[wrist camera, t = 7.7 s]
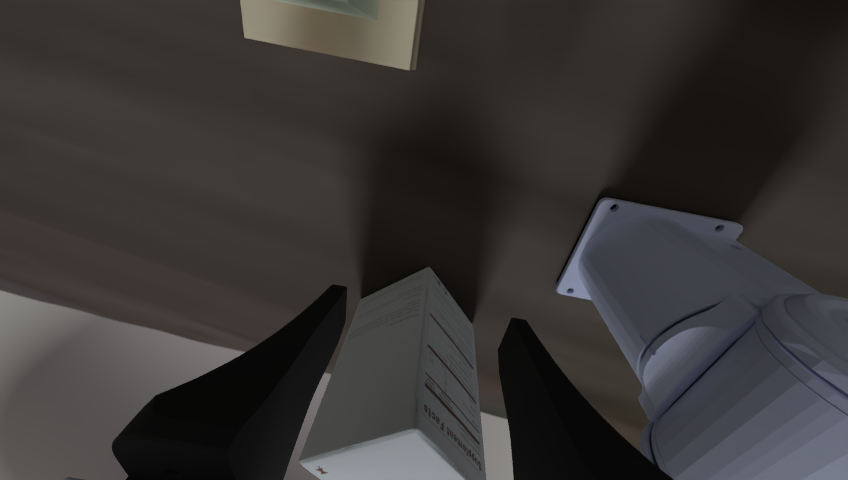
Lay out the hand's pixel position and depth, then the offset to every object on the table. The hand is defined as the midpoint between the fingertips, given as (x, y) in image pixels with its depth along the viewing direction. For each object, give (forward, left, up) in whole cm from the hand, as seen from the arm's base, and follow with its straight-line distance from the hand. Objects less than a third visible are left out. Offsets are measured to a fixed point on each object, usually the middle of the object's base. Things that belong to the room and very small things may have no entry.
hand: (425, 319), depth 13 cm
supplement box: (0, +9, -10) cm, 14 cm away
